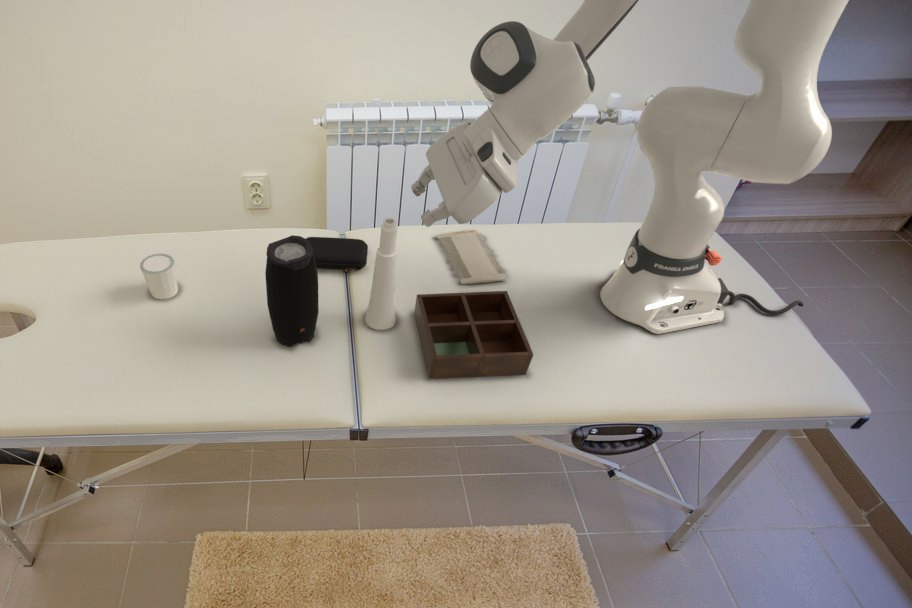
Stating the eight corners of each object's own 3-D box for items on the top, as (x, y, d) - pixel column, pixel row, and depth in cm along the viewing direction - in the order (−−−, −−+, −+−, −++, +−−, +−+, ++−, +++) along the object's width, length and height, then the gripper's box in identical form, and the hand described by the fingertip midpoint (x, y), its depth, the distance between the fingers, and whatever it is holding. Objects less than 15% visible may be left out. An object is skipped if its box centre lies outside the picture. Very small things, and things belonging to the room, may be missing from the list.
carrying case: (296, 273, 122) (365, 277, 121) (296, 262, 120) (366, 265, 118) (302, 245, 129) (367, 248, 128) (302, 233, 127) (368, 236, 125)
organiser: (500, 310, 113) (506, 290, 109) (525, 374, 102) (533, 354, 98) (413, 314, 113) (416, 294, 109) (429, 379, 102) (433, 359, 98)
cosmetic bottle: (378, 305, 115) (387, 207, 98) (402, 319, 112) (415, 220, 95) (358, 320, 112) (364, 221, 95) (382, 335, 109) (392, 235, 92)
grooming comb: (435, 235, 130) (435, 233, 129) (478, 231, 131) (478, 228, 130) (461, 286, 118) (461, 283, 118) (508, 281, 119) (508, 278, 118)
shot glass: (159, 305, 116) (151, 278, 111) (141, 290, 119) (133, 262, 114) (187, 291, 119) (180, 263, 114) (169, 276, 122) (162, 248, 117)
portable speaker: (318, 349, 107) (317, 263, 92) (269, 349, 107) (259, 263, 92) (318, 318, 112) (317, 233, 98) (271, 319, 113) (263, 233, 98)
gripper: (462, 103, 92) (397, 164, 100) (496, 164, 79) (417, 229, 86) (484, 130, 96) (419, 187, 103) (519, 192, 83) (442, 252, 90)
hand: (418, 206), depth 95 cm, fingers open, 8 cm apart
